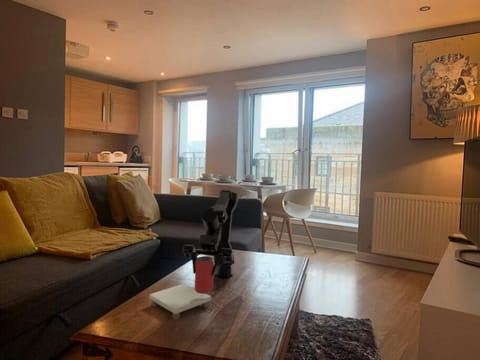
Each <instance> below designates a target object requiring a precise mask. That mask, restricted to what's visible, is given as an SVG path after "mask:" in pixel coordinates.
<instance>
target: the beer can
mask: <svg viewBox="0 0 480 360" xmlns="http://www.w3.org/2000/svg"><path fill="white" fill-rule="evenodd" d="M197 257H198V258H197V262H196V265H195V274H194V288H195V291H196V292H197V293H200V294H207V295H208V294H210V293H211V292H213V290H214V276H212V271H213V268H214V264H215V263H214V258H212V257H211V256H208V255H201V256H197Z"/></svg>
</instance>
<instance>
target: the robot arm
mask: <svg viewBox="0 0 480 360" xmlns="http://www.w3.org/2000/svg"><path fill="white" fill-rule="evenodd" d="M238 203H239V195H238V193H236V192H234V191H232V190H230V189H221V190H220V192H219V196H218V199H217V201H216V203H215V205H213V206H210V207H208V208H209V209H207V210H205V211H204V212H203V213H202V215H201V219H202V222H203V226H204V228H205V234H200V235H199V241H198V244H199V247H200V248H201V249H200V248H196V246H195V244H184V245H183V246H182V249H181V250H182V252H183V255H184V257H185V258H188V259H190V260H191V262H192V270H193V271H192V273H193V274H194V275H195V265H196V262H197V258H198V257H199V256H200V255H201V256H209V257H211V256H212V257H213V263H214V268H213V271H212V276H213V277H214V276H216V277H218V278H220V279H227V278H230V277H233V274H232V265H234V264H235V254H234V251H233V247H232V245H231V233H232V231H231V230H232V223H233V221H232V220H233V213H234V211H235V210H236V208H237V204H238Z"/></svg>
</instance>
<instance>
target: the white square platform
mask: <svg viewBox="0 0 480 360" xmlns="http://www.w3.org/2000/svg"><path fill="white" fill-rule="evenodd" d="M148 297H149V299H148V300H151V306H152V307H154V308H155V307H157V306H158V307H159V306H161V307H162V308H165V310H168V311H170V312H171V313H172V315H171V318H172V319H174V320H179V319H180V318H181V317H180V315H181V313H182V312H185V311H187V310H190V309H192V308H195V307H197V306H201V307H202V308H204V309H206V308H208V307H209V302H210V301H212V296H211V295H209V294H208V293H207V294H200V293H197V292H196V291H195V287H192V286H190V285H189V284H187V283H182V284H180V285H176V286H172V287H169V288H165V289H163V290H160V291H159V290H158V291H155V292H153V293H150V294H149V296H148Z"/></svg>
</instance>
